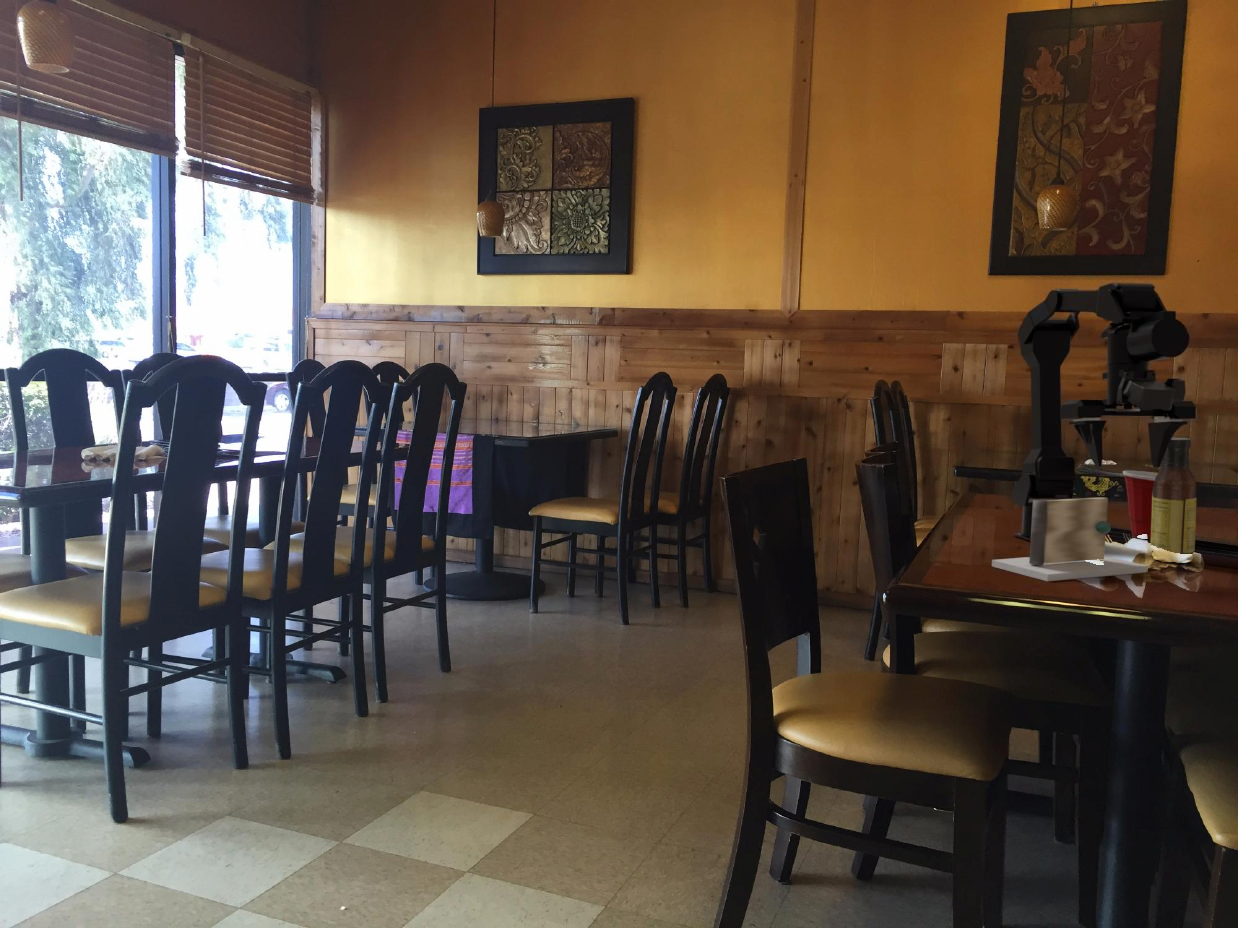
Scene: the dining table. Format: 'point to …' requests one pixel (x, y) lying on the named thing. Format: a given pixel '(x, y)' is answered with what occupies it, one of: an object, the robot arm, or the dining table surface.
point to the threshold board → (1069, 568)
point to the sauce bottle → (1174, 501)
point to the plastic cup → (1140, 500)
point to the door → (1068, 530)
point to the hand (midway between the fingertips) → (1127, 467)
